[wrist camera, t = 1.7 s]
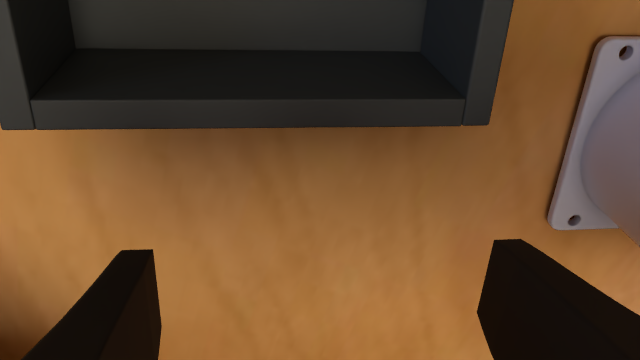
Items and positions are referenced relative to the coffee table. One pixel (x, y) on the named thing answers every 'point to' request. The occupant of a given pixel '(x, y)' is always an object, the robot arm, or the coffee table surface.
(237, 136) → the coffee table surface
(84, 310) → the robot arm
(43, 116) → the open storage bin
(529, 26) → the coffee table surface
